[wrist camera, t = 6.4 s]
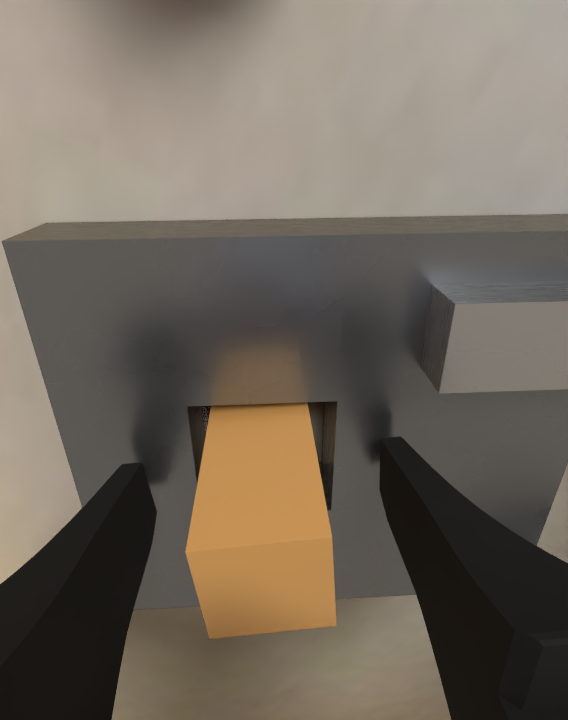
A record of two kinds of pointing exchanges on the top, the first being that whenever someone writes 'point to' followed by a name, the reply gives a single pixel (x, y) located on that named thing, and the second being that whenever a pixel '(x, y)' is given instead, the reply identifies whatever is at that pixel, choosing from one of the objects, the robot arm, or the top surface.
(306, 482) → the orange rectangular peg
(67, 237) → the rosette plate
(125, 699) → the top surface
